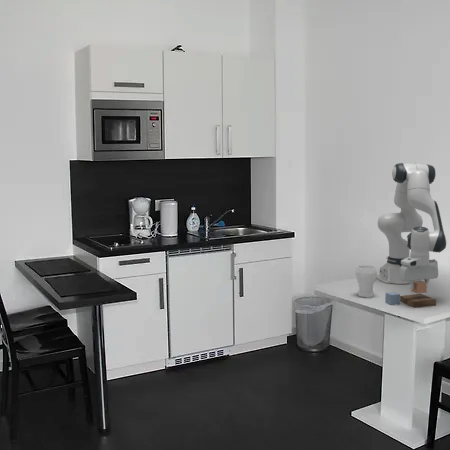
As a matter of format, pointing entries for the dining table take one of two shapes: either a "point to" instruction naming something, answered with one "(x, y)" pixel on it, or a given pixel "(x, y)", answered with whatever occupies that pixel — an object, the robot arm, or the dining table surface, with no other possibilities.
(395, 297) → the blue block
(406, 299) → the pedestal
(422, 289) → the terracotta block
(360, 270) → the cup
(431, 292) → the dining table surface
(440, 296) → the dining table surface
